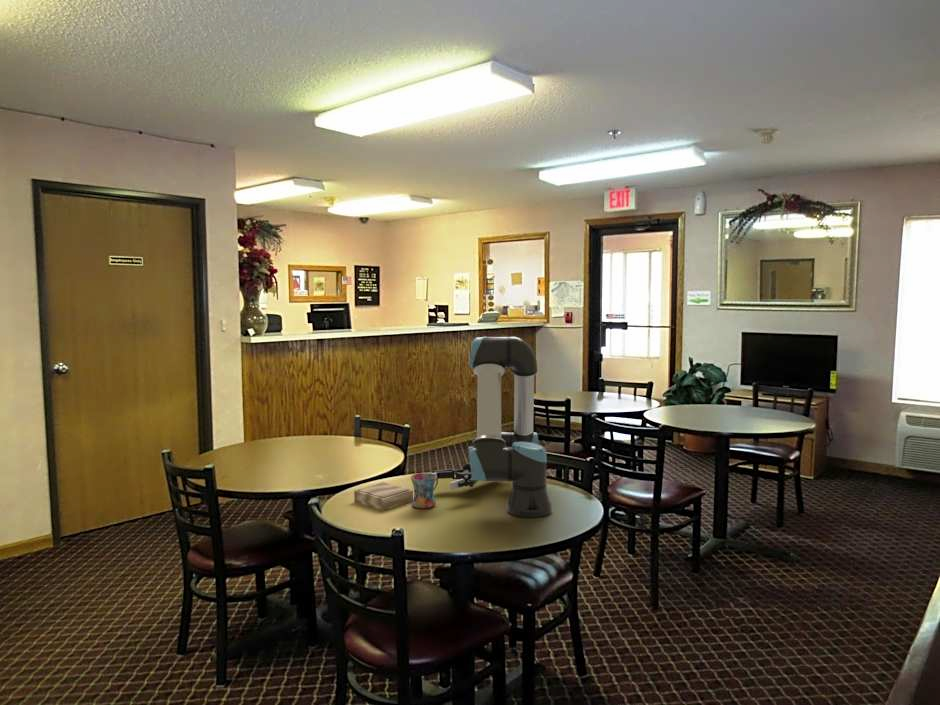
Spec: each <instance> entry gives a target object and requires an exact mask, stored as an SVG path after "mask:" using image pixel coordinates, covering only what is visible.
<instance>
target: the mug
mask: <svg viewBox="0 0 940 705" xmlns="http://www.w3.org/2000/svg"><path fill="white" fill-rule="evenodd" d="M409 478H410V480H411V483H412V486H413V501H411V506H413V507H415V508H419V509H428V508H432V507H435V505H436V504H437V502H436V499H435V497H434V491H436V490H435V489H436V488H437V487H438V483H439V479H438V478H437V476H436V475H435V474H432V472H431V473H429V472H420V473H413V475H410V477H409ZM436 479H437V480H436ZM435 480H436V481H435Z"/></svg>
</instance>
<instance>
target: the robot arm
mask: <svg viewBox="0 0 940 705" xmlns="http://www.w3.org/2000/svg"><path fill="white" fill-rule="evenodd" d="M469 354H470V355H469V367H470V369H472V370H473V374H475V375H476V376H477V392H476V393H477V395H476V396H477V402H476V403H477V405H476V406H477V407H476V408H477V409H476V415H477V416H476V421H477V422H476V427H477V428H476V437H475V439H473V440H472V445H470V446H469V447H467V448H468V457H469V462H468V463H465V464H464V465H463V467H462V468H458V469H457V468H456V467H453V468H452V467H451V468H447V469H446V468H445V469H436V470H432V471H431V474H435V475H436V476H437V478H438V480H442V479H443V480H444V479H452V480H454V481H450V482H449V490H450V491H455V490H457V489H460V488H463V487H468V486H469V488H473V487H474V486H475V485H476V484H477V483H478V482H486V483H487V482H511V483H512V488H511V492H510V496H509V498H508V501H507V512H508V513H509V514H511V515H513V516H514V517H515V516H516V517H521V518H533V519H534V518H542V517H546V516H548V515H551V513H552V512H553V511H552V510H553V509H552V503H551V499H550V496H549V493H548V490H547V462H548V460H547V450H546V448H545V447H544V446H542V445H541V444H539V434H538V433H537V432H534V416H535V415H534V408H535V404H534V402H535V376H536V375H537V373H538V360H537V358H536V354H535V353H534V351H533V349H532V348H531V346H530V345H529V344H528V343H527V342H526V341H525V340H523V339H522V338H520V337H517V336H481V337H479V336H478V337H475V338H473V340H472V343H471V347H470V353H469ZM506 369H511V373H512V375H513V376H514V377H513V378H514V386H513V387H514V389H513V391H514V392H513V393H514V395H513V397H514V399H513V400H514V401H513V432H512V431H511V432H510V431H509V432H507V431H502V376H503V375H505V373H506ZM436 481H437V479H436V480H435V482H436Z"/></svg>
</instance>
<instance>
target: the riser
mask: <svg viewBox="0 0 940 705" xmlns="http://www.w3.org/2000/svg"><path fill="white" fill-rule="evenodd" d="M353 491H354V492H353V493H354V494H353V495H354V496H353V498H354V499H353V500H354V502H355V503H358V504H360V505H361V504H362V505H364V506H369V507H370V508H374V509H378V510H381V511H387V510H389V509H392V508H393V509H394V508H395V507H399V506H401V505H404V504H408V503H412V502H413V499H414V489H410V488H406V487H402V486H398V485H395V484H391V483H387V482H384V481H383V482H380V483H376V484H373V485H370V486H366V487H363V488H359V489H355V490H353Z"/></svg>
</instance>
